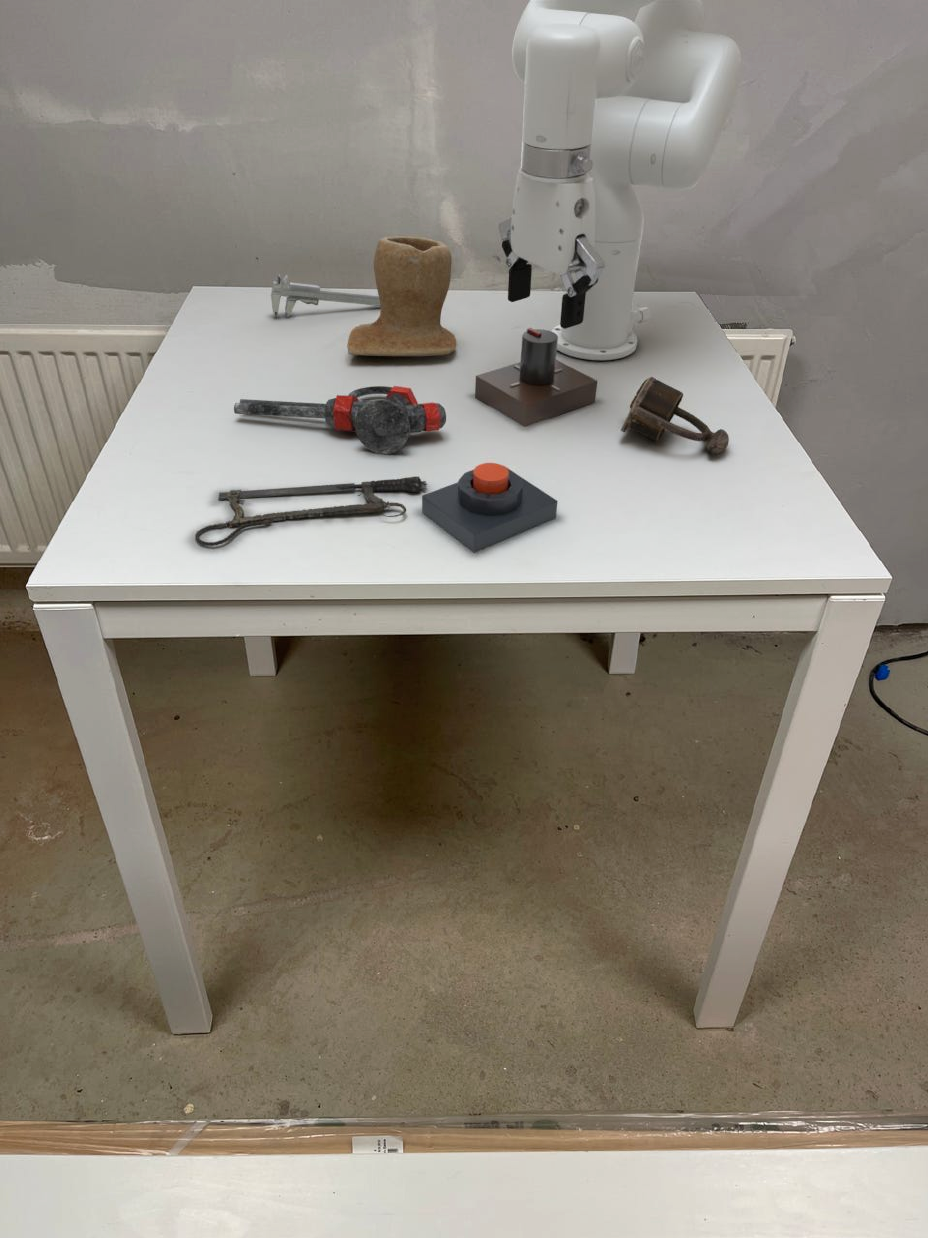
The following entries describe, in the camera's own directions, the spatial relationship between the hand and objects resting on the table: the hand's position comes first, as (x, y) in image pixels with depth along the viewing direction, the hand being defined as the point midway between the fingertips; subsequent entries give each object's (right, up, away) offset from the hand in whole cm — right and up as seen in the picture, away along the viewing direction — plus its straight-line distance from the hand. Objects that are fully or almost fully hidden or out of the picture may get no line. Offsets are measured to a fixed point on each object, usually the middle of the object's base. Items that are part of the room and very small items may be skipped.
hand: (544, 311), depth 110 cm
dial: (-1, -7, +5) cm, 8 cm away
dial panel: (-1, -9, +7) cm, 11 cm away
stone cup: (-19, +1, +18) cm, 26 cm away
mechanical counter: (+15, -16, -1) cm, 22 cm away
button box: (-7, -27, -15) cm, 31 cm away
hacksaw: (-25, -27, -15) cm, 40 cm away
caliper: (-29, +10, +28) cm, 42 cm away
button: (-7, -24, -17) cm, 30 cm away
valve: (-24, -13, +1) cm, 28 cm away
